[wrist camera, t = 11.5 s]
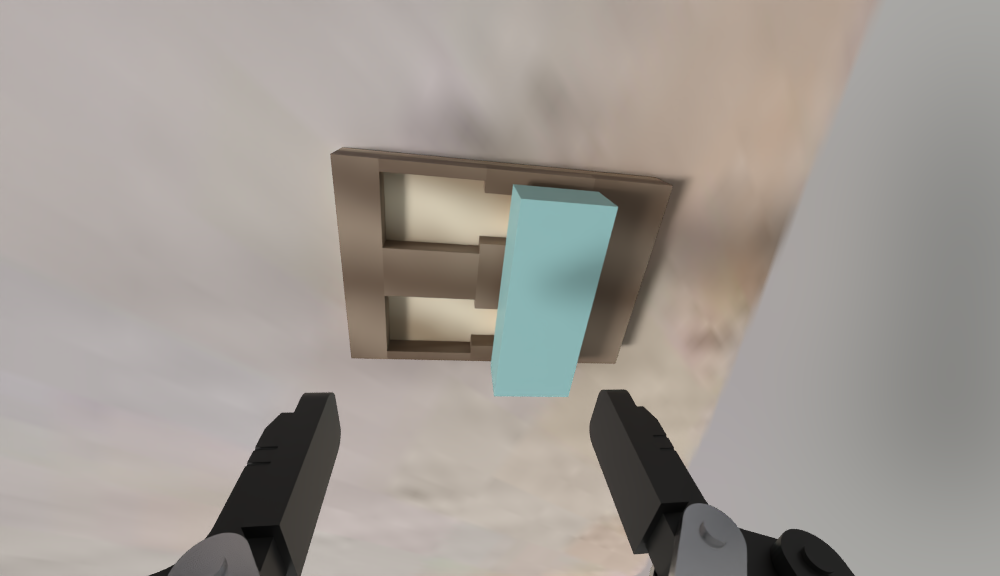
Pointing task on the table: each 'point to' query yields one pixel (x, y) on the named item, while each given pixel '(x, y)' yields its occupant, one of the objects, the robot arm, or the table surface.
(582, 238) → the panel
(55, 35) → the table surface
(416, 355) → the slot board
